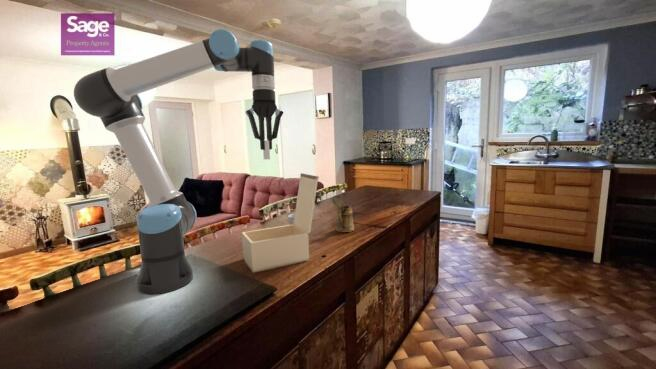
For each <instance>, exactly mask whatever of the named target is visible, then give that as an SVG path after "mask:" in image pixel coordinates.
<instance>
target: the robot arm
mask: <svg viewBox="0 0 656 369" xmlns="http://www.w3.org/2000/svg"><path fill="white" fill-rule="evenodd" d="M274 57H275V55H274V47H273V44H272V43H271V41H269V40H268V41H267V40H263V39H257V40H255V39H254V40H252V41H250V44H249V47H240V43H239V41H238V39H237V38H236V36H235V35H234V34H233V33H232V32H231V31H230V30H227V29H225V28H219V29H215V30H214V31H213V32H212V33H211V34H210V35H209V37H208V38H204V39H202V40H200V41H196V42H194V43H192V44H191V43H190V44H188V45H185V46H181V47H179V48H175V49H173V50H170V51H167V52H164V53H160V54H159V55H155V56H152V57H149V58H146V59H143V60H140V61H136V62H134V63H131V64H128V65H125V66H121V67H120V68H117V69H116V68H112V67H109V66H108V67H106V68H103V69H100V70H96V71H94V72H91V73H88V74H87V75H84V76H83V77H81V78H80V79H78V80H77V81H76V84H75V85H74V88H73V97H74V102H76V104H77V105H78V107H79V108H80V109H81V110H82V111H84V112H85V113H87V114H88V115H90V116H93V117H98V118H99V119H100V121H101V123H102V124H103V126H104V128H105V130H107V131H108V132H111V133H113V134H114V135H115V137H116V139H117V141H118V143H119V145H120V147H121V149H122V151H123V153H124V155H125V157H126V158H127V160H128V162H129V164H130V166H131V168H132V170H133V171H134V175H135V176H136V177H137V179H138V182H139V183H140V185H141V187H142V188H143V191H144V192H145V195H146V197H147V199H148V200H149V202H148V204H147V207H145V208H143V209H141V210H140V211H138V213H137V215H136V229H137V234H138V243H139V249H140V256H141V257H140V259H141V265H140V269H139V272H138V276H137V282H136V283H137V284H136V285H137V290H138V292H140V293H142V294H144V295H145V294H146V295H147V294H148V295H156V294H164V293H169V292H172V291H176V290H178V288H179V289H182V288H183V287H185V286H186V285H189V284H190V283H191V282H192V281H193V279H194V272H193V268H192V266H191V264H190V262H189V260H188V257H187V256H186V252H185V243H184V236H186V235H187V233H189V231H190V232H191V230H192V229H193V227H194V225H195V223H196V220H197V211H196V209H195V207H194V205H193V204H192V203H190V202H189V201H187V199H186V197H185V195H184V193H183V192H181V191H178V190H177V189H176V188H175V186H174V184H173V182H172V180H171V177H170V175H169V174H168V172H167V170H166V168H165V166H164V163H163V161H162V160H161V157H160V156H159V154H158V152H157V150H156V148H155V146H154V144H153V142H152V140H151V138H150V136H149V134H148V132H147V130H146V127H145V126H144V123H145V120H146V116H145V115H144V113H143V102H142V99H141V97H140V96H139V94H141V93H145V92H147V91H150V90H153V89H156V88H158V87H162V86H164V85H167V84H170V83H173V82H175V81H179V80H181V79H184V78H187V77H190V76H193V75H195V74H198V73H201V72H203V71H206V70H209V69H212V68H214V70H216V71H219V72H225V73H227V72H230V73H231V72H234V73H235V72H237V73H239V72H240V73H241V72H242V73H243V72H245V73H246V72H247V73H248V72H249V73H251V85H252V86H251V88H252V89H253V90H252V105H251V108H249V109H247V110H245V114H246V116H247V117H248V119H249V123H250V127H251V130H252V134H253V136H254V138H255V139H257V140H259V143H260V144H259V145H260V146H259V147H260V148H259V149H260V151H261V150H262V152H263V160H270V159H271V158H270V157H271V156H270V154H271V153H270V152H271V151H270V150H273V140H274V139H277V138H278V134H279V129H280V123H281V118H282V116H283V115H284V111H283V110H280V109H278V107H277V106H278V105H277V104H276V91H275V89H276V88H275V86H276V84H275V61H274V60H275V58H274ZM254 114H255V115H257V117H258V126H257V123H256V118H255V115H254ZM274 114H275V117H274V121H273V122H274V124H273V128H272V119H273V118H272V117H273V115H274ZM265 127H266V133H265ZM258 129H259V130H258ZM265 134H266V135H265ZM265 136H266V137H265ZM265 139H266V140H265ZM191 280H192V281H191ZM190 281H191V282H190ZM189 282H190V283H189Z"/></svg>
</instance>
